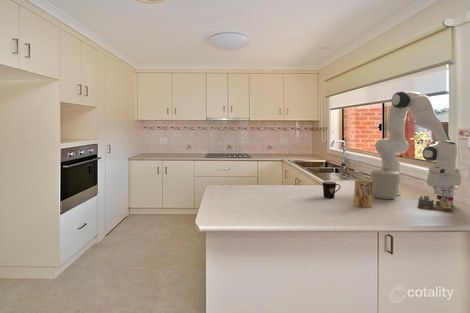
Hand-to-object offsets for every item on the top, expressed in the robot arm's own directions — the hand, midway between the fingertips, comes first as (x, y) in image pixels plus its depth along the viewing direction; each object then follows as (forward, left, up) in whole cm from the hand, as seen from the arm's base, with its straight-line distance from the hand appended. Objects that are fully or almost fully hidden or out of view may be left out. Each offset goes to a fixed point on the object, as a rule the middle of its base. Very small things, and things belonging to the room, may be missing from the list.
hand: (443, 193), depth 172 cm
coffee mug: (-61, -5, -9) cm, 62 cm away
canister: (-31, +14, -9) cm, 35 cm away
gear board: (-4, 0, -9) cm, 10 cm away
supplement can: (+2, +14, -9) cm, 17 cm away
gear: (-8, 0, -7) cm, 11 cm away
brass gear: (0, 0, -7) cm, 7 cm away
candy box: (-40, -19, -9) cm, 45 cm away
